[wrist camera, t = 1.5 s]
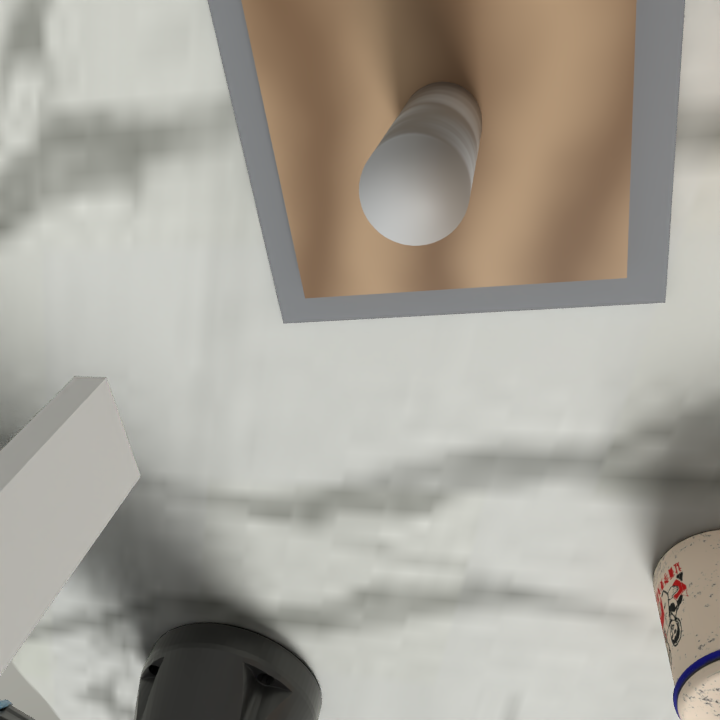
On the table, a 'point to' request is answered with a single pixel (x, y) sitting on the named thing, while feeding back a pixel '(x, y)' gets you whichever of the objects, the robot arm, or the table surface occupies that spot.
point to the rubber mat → (642, 286)
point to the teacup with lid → (692, 623)
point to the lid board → (516, 162)
